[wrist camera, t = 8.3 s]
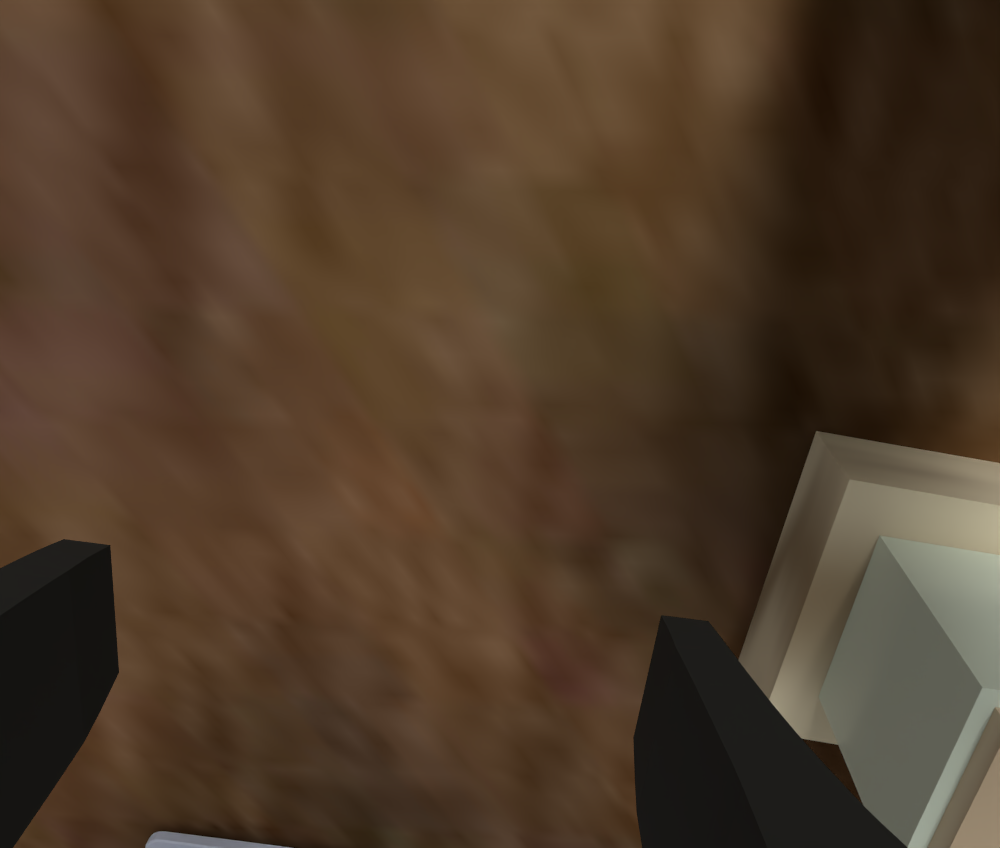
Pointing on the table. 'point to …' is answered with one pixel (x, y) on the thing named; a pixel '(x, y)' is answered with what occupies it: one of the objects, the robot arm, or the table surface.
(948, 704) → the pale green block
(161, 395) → the table surface
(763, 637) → the base block
